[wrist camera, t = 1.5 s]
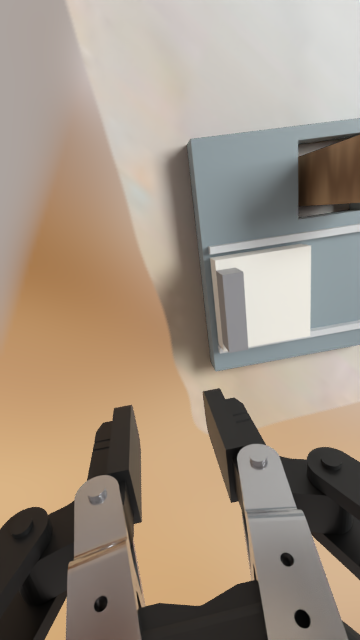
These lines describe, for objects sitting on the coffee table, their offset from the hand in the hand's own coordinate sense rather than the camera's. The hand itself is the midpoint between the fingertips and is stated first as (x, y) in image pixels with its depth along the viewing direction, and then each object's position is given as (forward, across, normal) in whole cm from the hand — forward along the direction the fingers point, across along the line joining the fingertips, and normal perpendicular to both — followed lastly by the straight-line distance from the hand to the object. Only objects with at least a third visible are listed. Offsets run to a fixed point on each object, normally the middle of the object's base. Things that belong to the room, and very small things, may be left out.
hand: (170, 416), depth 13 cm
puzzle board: (+17, -14, -3) cm, 22 cm away
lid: (+15, -10, 0) cm, 18 cm away
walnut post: (+17, -16, -9) cm, 25 cm away
